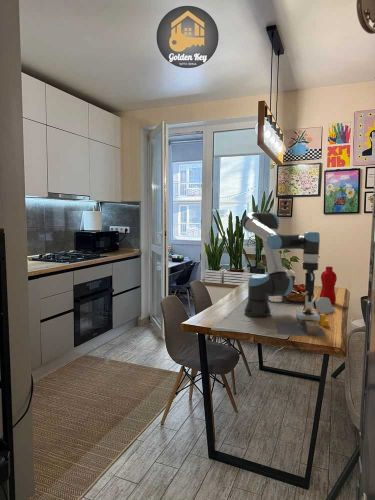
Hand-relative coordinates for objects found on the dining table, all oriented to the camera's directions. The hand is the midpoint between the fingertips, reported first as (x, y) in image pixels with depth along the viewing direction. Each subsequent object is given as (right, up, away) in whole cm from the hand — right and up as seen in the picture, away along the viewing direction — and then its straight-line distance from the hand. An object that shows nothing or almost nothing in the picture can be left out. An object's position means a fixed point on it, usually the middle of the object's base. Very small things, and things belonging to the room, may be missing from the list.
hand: (308, 306), depth 179 cm
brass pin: (0, -4, 0) cm, 4 cm away
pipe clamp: (+9, -11, +9) cm, 17 cm away
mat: (-6, -11, -2) cm, 13 cm away
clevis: (-1, -11, -3) cm, 11 cm away
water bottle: (+33, -7, +58) cm, 67 cm away
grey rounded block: (+20, -9, +33) cm, 40 cm away
